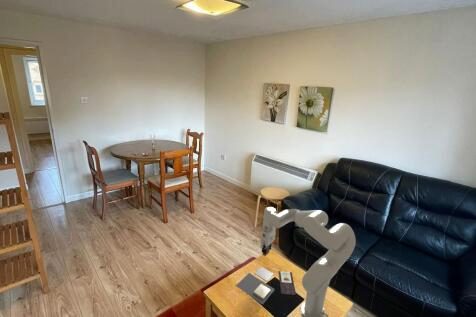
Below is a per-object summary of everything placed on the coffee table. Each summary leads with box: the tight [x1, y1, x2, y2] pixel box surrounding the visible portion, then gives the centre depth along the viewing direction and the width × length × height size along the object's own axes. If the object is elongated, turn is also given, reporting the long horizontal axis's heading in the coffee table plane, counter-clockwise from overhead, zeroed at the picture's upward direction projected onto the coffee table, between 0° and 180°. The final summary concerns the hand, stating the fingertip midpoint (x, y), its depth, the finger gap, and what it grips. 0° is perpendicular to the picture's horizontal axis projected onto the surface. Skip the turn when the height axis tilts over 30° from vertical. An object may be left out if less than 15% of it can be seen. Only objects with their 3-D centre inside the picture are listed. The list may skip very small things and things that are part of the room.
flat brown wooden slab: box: [262, 245, 270, 257], centre depth 154 cm, size 2×5×10 cm, turn 141°
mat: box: [235, 272, 275, 305], centre depth 150 cm, size 20×14×1 cm
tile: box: [254, 284, 271, 299], centre depth 147 cm, size 1×8×7 cm
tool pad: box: [254, 266, 274, 282], centre depth 161 cm, size 10×8×1 cm
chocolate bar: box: [278, 270, 297, 296], centre depth 155 cm, size 9×1×18 cm
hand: (266, 250), depth 154 cm, fingers closed on flat brown wooden slab, 5 cm apart
